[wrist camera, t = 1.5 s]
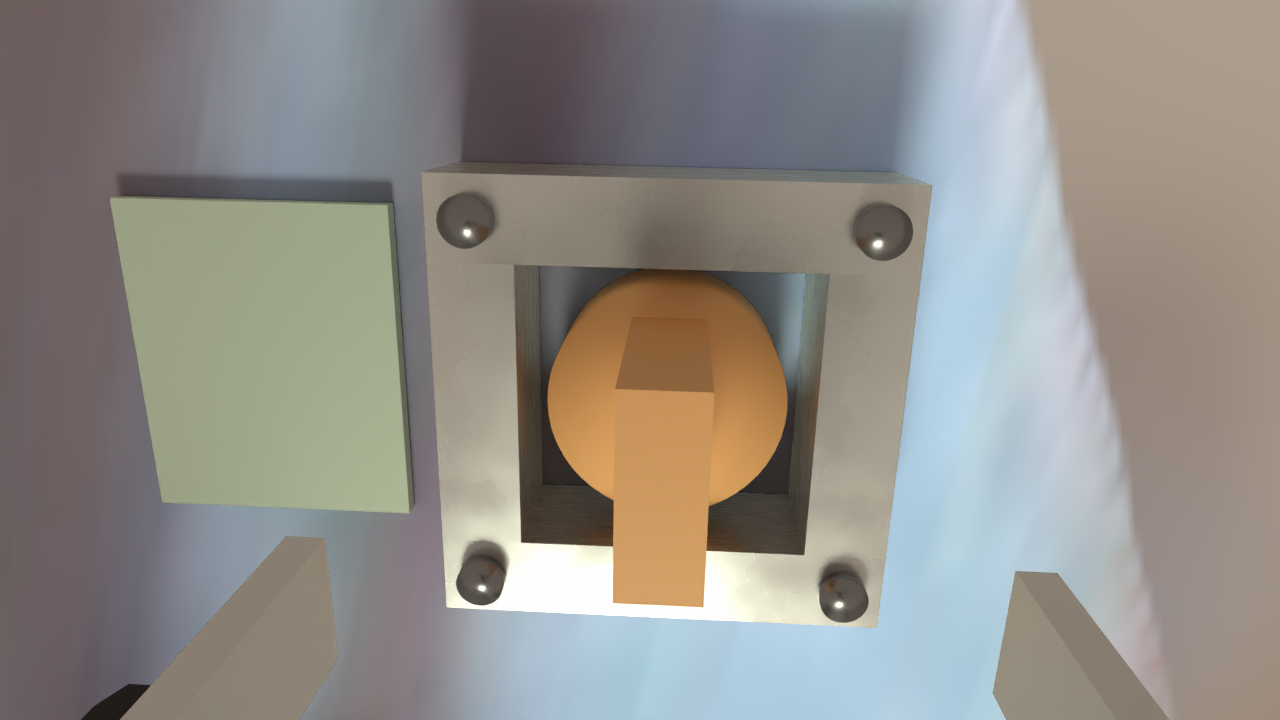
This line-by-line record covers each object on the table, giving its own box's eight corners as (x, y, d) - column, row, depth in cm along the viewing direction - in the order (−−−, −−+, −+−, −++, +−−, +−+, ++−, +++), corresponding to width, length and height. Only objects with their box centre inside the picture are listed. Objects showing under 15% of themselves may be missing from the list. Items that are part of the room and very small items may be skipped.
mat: (414, 506, 33) (409, 513, 32) (171, 495, 33) (162, 502, 33) (393, 203, 29) (387, 205, 29) (120, 195, 30) (109, 197, 29)
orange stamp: (768, 473, 32) (807, 645, 22) (562, 465, 32) (508, 630, 22) (783, 269, 29) (835, 356, 19) (561, 263, 30) (499, 345, 20)
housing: (851, 558, 33) (880, 638, 28) (477, 542, 33) (442, 617, 28) (894, 172, 28) (938, 187, 23) (460, 161, 29) (415, 173, 24)
